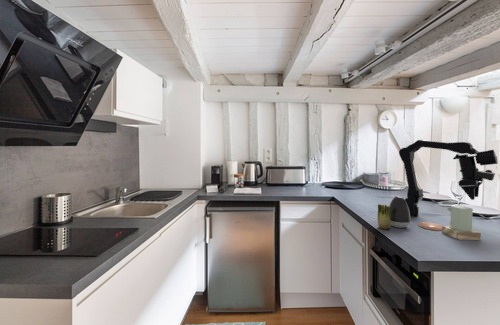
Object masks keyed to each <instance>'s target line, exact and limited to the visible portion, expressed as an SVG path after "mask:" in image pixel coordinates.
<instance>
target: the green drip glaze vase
mask: <svg viewBox="0 0 500 325" xmlns="http://www.w3.org/2000/svg"><path fill="white" fill-rule="evenodd" d="M389 209H390V207H389V205H387V204H381V203H377V224H378V225H377V226H378V228H379V229H381V230H384V229H387V230H389V229H390V228H391V225H390V218H389Z"/></svg>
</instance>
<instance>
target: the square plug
mask: <svg viewBox="0 0 500 325" xmlns="http://www.w3.org/2000/svg"><path fill="white" fill-rule="evenodd" d="M473 211H474V208H472V207H468V206H464V205H451V206H450V221H449V222H450V224H449V226H450V228H452V229H454V230H457V231H459V232H472V230H473Z"/></svg>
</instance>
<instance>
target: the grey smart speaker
mask: <svg viewBox="0 0 500 325" xmlns="http://www.w3.org/2000/svg"><path fill="white" fill-rule="evenodd" d="M388 206H389V207H390V209H389V218H390V226H392V227H394V228H397V227H398V229H405V228H407V227H408V226H409V224H410V222H411V218H412V217H411V216H410V212H409V208H408V205H407V203H406V201H405V198H403V197H402V196H397V195H395V196H394V198H392V199H391V201H390V203H389V205H388Z"/></svg>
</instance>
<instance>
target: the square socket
mask: <svg viewBox="0 0 500 325" xmlns="http://www.w3.org/2000/svg"><path fill="white" fill-rule="evenodd" d="M441 233H442V234H444V235H448V236H449V237H452V238H453V239H457V240H459V241H473V240H476V241H481V238H482V236H481V235H482V233H481V232H480V231H477V230H474V229H472V232H459V231H457V230H454V229H452V228H450V225H442V230H441Z"/></svg>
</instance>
